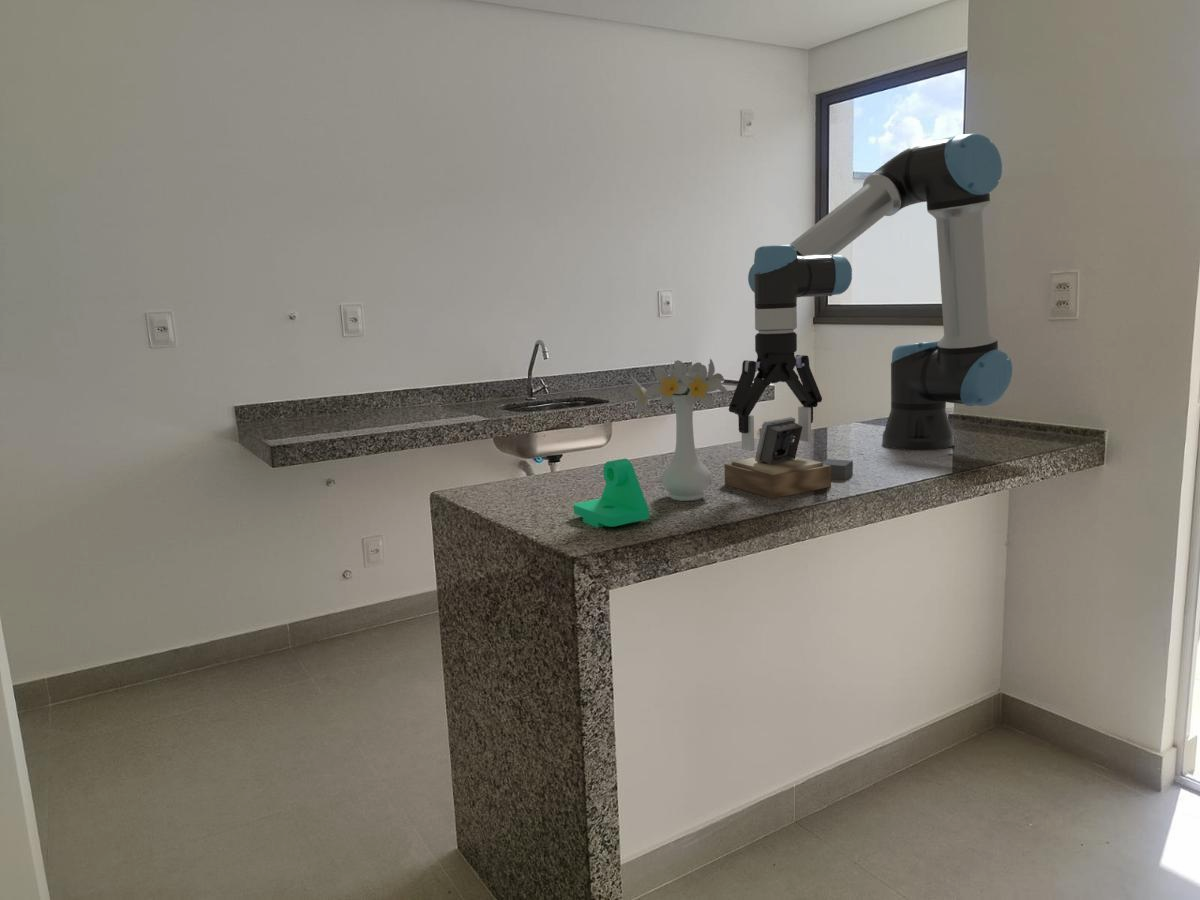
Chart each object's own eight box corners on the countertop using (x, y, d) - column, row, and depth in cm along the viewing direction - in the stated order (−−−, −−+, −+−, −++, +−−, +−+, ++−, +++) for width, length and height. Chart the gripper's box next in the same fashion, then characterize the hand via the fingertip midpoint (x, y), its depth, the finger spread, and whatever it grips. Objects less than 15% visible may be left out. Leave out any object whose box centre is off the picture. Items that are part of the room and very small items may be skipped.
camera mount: (571, 518, 148) (568, 460, 146) (609, 511, 152) (606, 453, 150) (610, 533, 138) (608, 471, 136) (649, 525, 142) (647, 463, 140)
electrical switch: (784, 456, 167) (787, 415, 165) (802, 462, 164) (805, 419, 161) (753, 463, 162) (756, 420, 160) (772, 469, 159) (775, 425, 157)
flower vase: (623, 499, 159) (617, 363, 154) (705, 484, 167) (702, 355, 162) (661, 513, 147) (656, 367, 143) (747, 497, 156) (745, 358, 151)
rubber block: (827, 473, 172) (827, 459, 172) (852, 475, 170) (852, 460, 169) (819, 479, 168) (819, 464, 168) (845, 481, 166) (845, 465, 165)
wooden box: (781, 474, 173) (781, 451, 172) (831, 486, 161) (831, 462, 160) (724, 484, 166) (724, 461, 165) (772, 498, 154) (771, 473, 153)
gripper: (813, 326, 167) (813, 434, 171) (708, 335, 155) (710, 451, 159) (841, 327, 160) (840, 439, 164) (733, 336, 149) (735, 457, 153)
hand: (776, 445), depth 162 cm, fingers open, 13 cm apart
